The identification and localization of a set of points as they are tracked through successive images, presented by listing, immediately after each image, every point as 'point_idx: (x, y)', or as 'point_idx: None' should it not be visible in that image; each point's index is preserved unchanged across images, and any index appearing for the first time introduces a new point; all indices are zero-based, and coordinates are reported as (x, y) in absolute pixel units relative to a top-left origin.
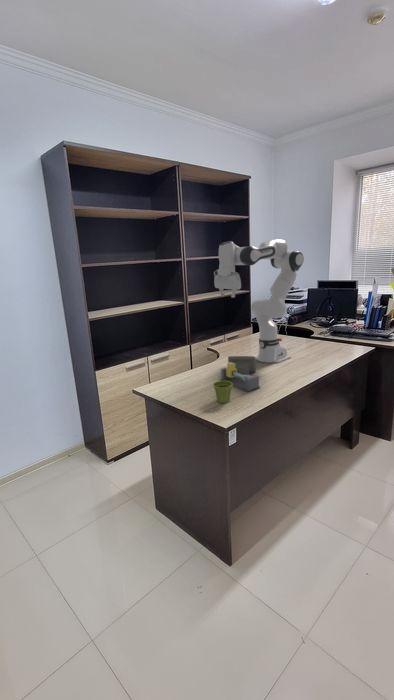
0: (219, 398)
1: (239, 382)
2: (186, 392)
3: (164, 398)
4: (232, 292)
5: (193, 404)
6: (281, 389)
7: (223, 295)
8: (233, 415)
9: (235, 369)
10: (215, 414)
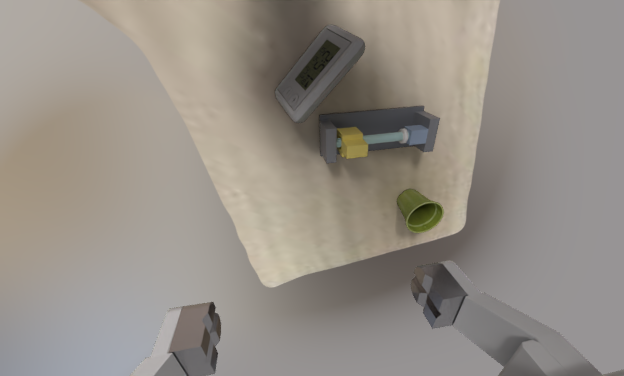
0: (414, 212)
1: (369, 129)
2: (331, 232)
3: (329, 264)
4: (493, 353)
5: (381, 238)
6: (466, 69)
7: (212, 323)
8: (453, 209)
9: (361, 137)
10: None
